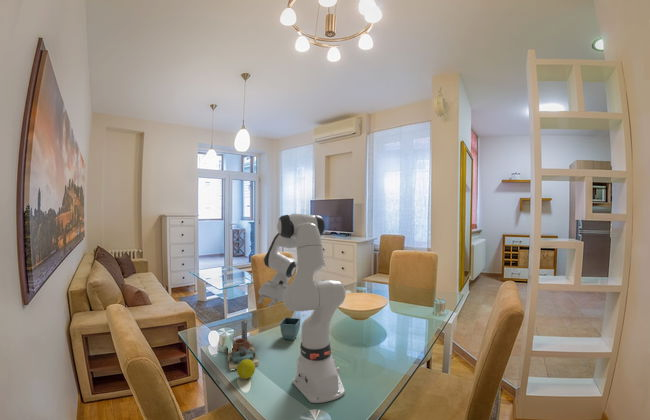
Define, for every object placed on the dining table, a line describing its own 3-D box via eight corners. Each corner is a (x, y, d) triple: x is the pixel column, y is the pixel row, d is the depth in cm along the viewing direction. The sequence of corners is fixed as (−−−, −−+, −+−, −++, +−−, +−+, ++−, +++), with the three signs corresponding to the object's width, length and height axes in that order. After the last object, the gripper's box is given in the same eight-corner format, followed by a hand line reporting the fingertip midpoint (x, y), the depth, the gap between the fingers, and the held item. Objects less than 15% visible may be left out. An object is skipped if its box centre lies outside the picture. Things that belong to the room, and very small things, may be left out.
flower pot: (296, 342, 149) (295, 325, 149) (279, 341, 151) (279, 323, 151) (300, 335, 158) (300, 318, 158) (285, 333, 160) (285, 317, 159)
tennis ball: (243, 384, 114) (243, 366, 114) (233, 377, 119) (233, 360, 118) (258, 377, 119) (258, 360, 119) (248, 370, 124) (248, 354, 124)
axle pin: (247, 341, 151) (247, 322, 151) (241, 342, 150) (241, 322, 150) (246, 339, 153) (246, 320, 153) (241, 339, 152) (241, 320, 152)
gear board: (258, 365, 127) (258, 351, 127) (229, 371, 123) (229, 357, 123) (251, 343, 148) (251, 331, 148) (226, 348, 143) (226, 335, 143)
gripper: (264, 277, 173) (250, 297, 166) (286, 283, 159) (271, 305, 152) (270, 283, 176) (256, 303, 169) (292, 289, 162) (278, 312, 155)
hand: (264, 304), depth 160 cm, fingers open, 8 cm apart
